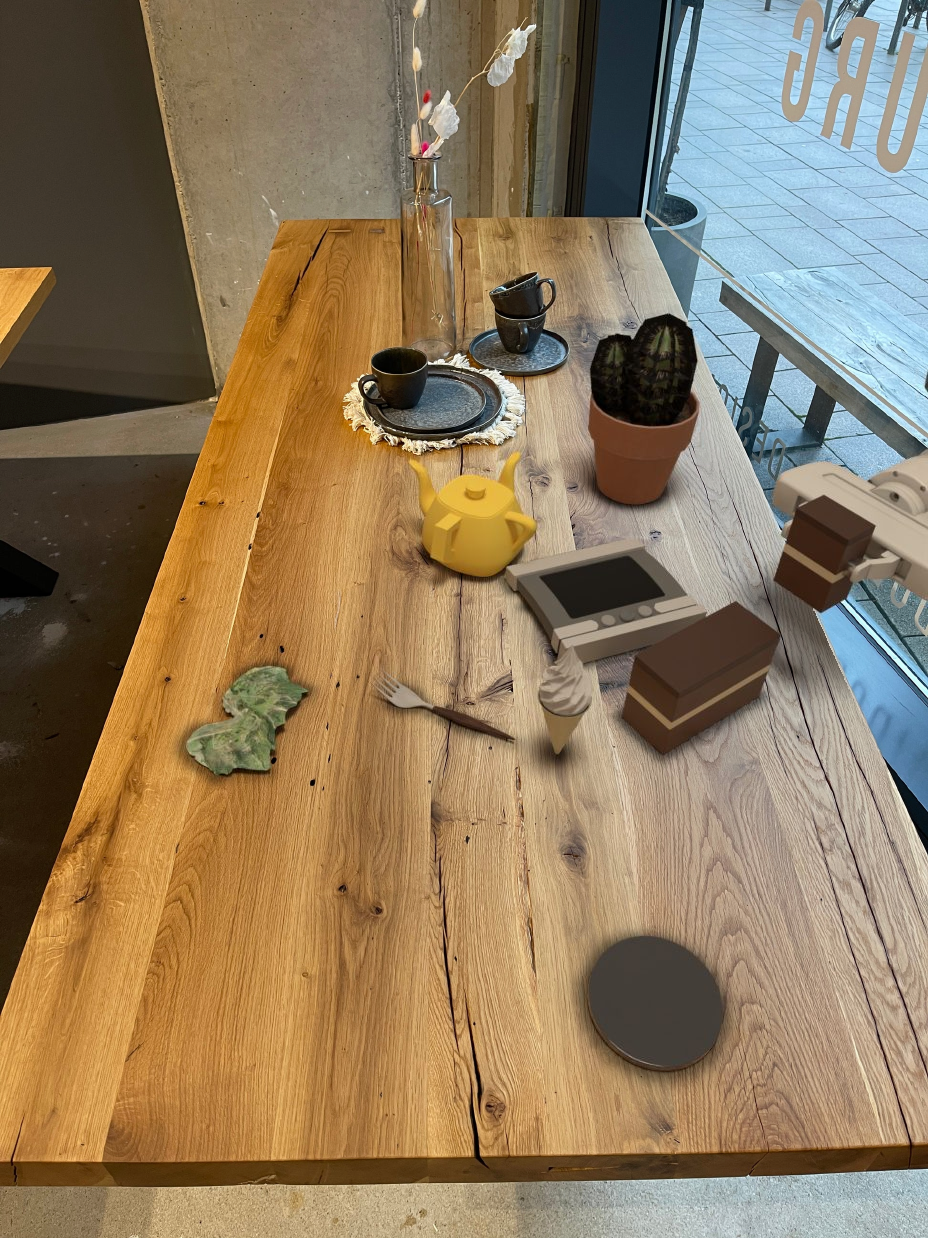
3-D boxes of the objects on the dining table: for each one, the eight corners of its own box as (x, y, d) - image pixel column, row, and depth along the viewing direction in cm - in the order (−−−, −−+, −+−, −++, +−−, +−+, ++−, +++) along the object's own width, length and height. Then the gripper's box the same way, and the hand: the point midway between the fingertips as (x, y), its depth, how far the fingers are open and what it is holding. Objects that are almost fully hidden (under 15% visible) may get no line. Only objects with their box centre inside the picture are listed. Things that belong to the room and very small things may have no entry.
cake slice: (799, 566, 94) (824, 494, 88) (847, 598, 90) (876, 525, 84) (772, 580, 92) (796, 507, 86) (820, 613, 89) (848, 540, 83)
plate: (702, 937, 76) (704, 933, 75) (736, 1068, 68) (739, 1064, 68) (578, 942, 75) (579, 938, 75) (598, 1075, 68) (599, 1070, 67)
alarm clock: (565, 648, 96) (506, 547, 106) (560, 676, 99) (503, 575, 109) (707, 611, 100) (637, 518, 110) (697, 639, 104) (630, 546, 114)
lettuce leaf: (264, 786, 86) (262, 776, 85) (172, 766, 87) (169, 756, 86) (320, 674, 97) (318, 664, 96) (237, 658, 98) (234, 647, 97)
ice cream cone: (527, 767, 88) (538, 658, 78) (536, 728, 92) (549, 619, 82) (578, 777, 88) (597, 669, 77) (586, 738, 91) (605, 629, 81)
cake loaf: (717, 662, 99) (735, 600, 93) (759, 696, 96) (781, 634, 90) (621, 716, 93) (634, 654, 87) (662, 755, 90) (679, 693, 84)
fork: (509, 752, 90) (510, 739, 88) (369, 696, 95) (368, 682, 93) (520, 734, 91) (521, 721, 90) (382, 679, 96) (381, 666, 95)
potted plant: (656, 452, 130) (689, 279, 113) (698, 508, 120) (741, 327, 103) (565, 465, 127) (585, 289, 110) (601, 522, 117) (629, 339, 100)
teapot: (515, 513, 118) (519, 447, 112) (539, 579, 109) (546, 511, 102) (409, 522, 117) (408, 456, 110) (424, 591, 107) (424, 522, 100)
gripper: (832, 435, 98) (743, 475, 92) (1010, 531, 85) (921, 585, 79) (815, 484, 102) (730, 525, 96) (983, 583, 90) (897, 637, 84)
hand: (818, 553), depth 88 cm, fingers closed on cake slice, 6 cm apart
